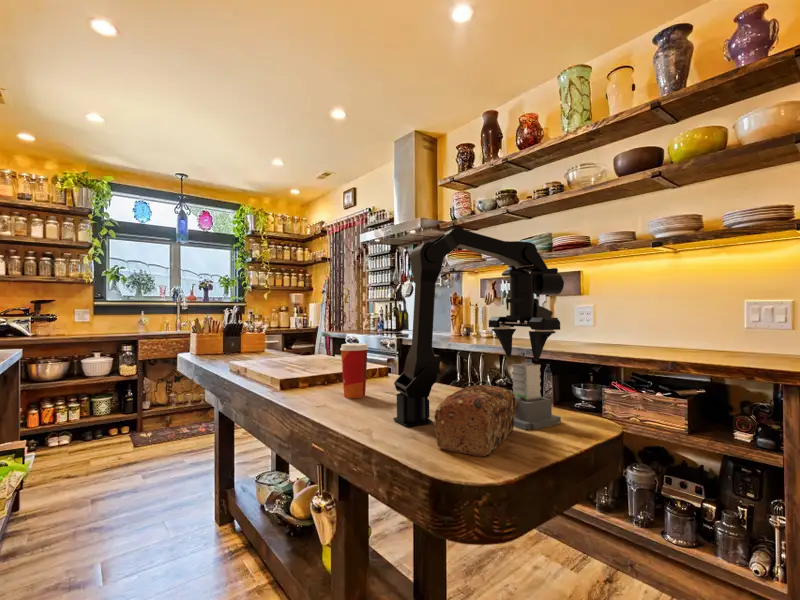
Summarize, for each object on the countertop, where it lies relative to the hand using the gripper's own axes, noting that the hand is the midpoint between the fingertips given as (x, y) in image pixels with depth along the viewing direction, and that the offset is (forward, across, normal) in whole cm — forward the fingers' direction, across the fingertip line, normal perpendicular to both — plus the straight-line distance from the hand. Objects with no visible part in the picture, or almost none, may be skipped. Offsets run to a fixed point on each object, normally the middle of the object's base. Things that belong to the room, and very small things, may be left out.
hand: (522, 358), depth 98 cm
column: (+9, -7, +6) cm, 13 cm away
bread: (+13, -12, +23) cm, 29 cm away
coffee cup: (+13, +36, +30) cm, 48 cm away
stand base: (+13, -7, +6) cm, 16 cm away
